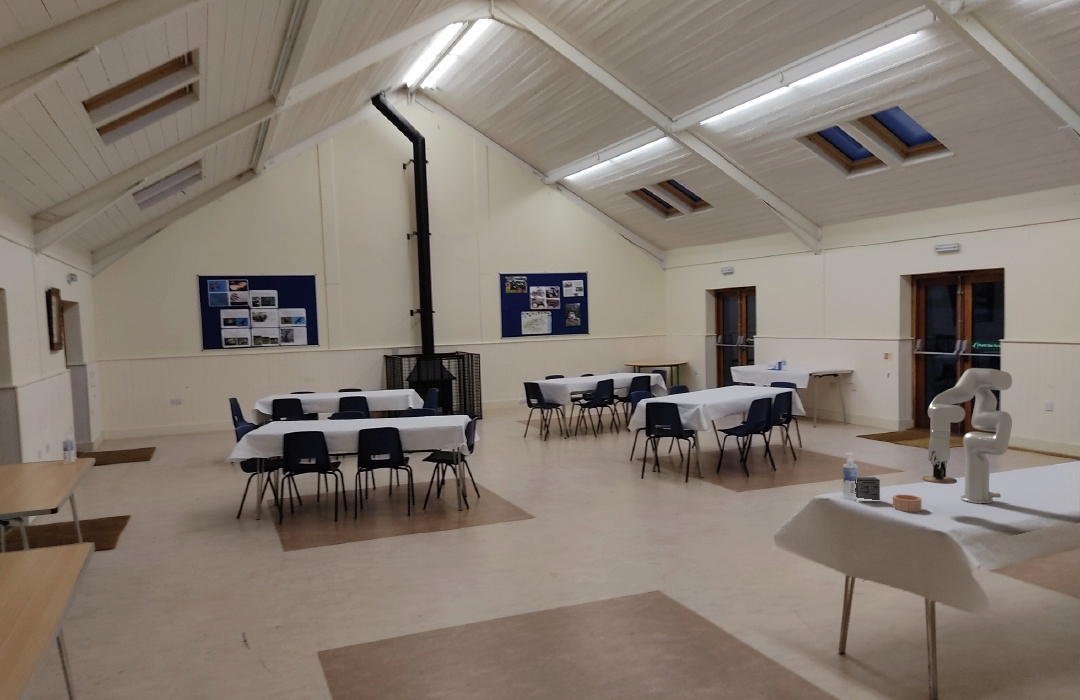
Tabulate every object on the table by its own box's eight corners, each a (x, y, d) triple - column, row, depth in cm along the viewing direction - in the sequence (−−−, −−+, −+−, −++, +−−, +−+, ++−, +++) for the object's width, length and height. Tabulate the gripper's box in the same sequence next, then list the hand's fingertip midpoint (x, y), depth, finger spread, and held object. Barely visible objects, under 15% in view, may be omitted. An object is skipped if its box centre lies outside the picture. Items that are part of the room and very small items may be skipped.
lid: (948, 477, 323) (948, 466, 323) (962, 484, 310) (962, 472, 310) (917, 477, 324) (917, 466, 324) (930, 483, 311) (930, 472, 311)
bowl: (915, 505, 328) (915, 494, 328) (925, 512, 317) (925, 500, 317) (889, 505, 329) (889, 494, 329) (898, 511, 318) (898, 500, 318)
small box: (874, 498, 342) (874, 476, 341) (880, 502, 335) (880, 479, 335) (851, 498, 342) (851, 476, 342) (856, 502, 336) (857, 479, 335)
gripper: (940, 432, 324) (940, 473, 325) (921, 435, 315) (920, 478, 315) (958, 434, 318) (957, 476, 318) (939, 437, 308) (938, 481, 309)
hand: (939, 476), depth 317 cm, fingers closed on lid, 3 cm apart
